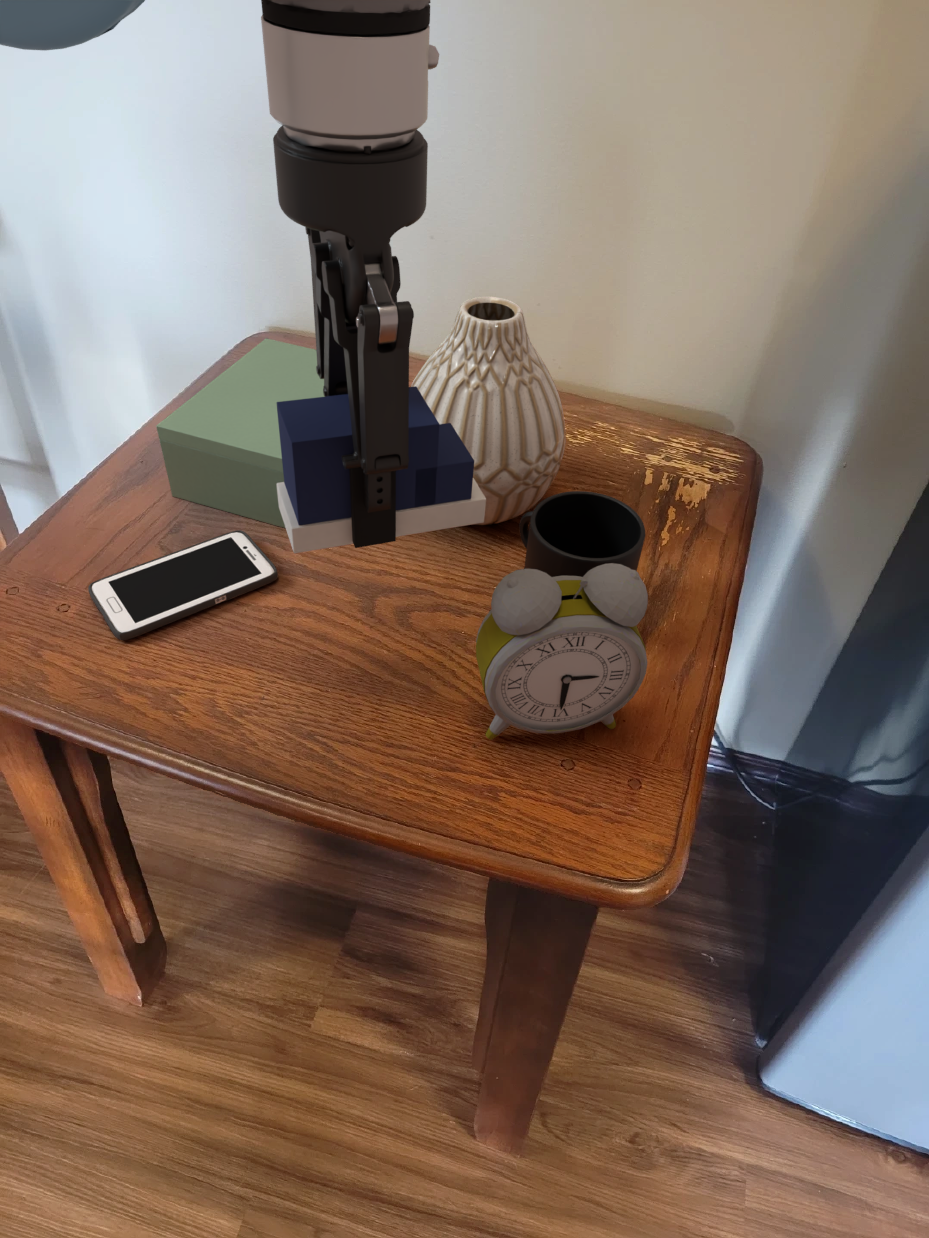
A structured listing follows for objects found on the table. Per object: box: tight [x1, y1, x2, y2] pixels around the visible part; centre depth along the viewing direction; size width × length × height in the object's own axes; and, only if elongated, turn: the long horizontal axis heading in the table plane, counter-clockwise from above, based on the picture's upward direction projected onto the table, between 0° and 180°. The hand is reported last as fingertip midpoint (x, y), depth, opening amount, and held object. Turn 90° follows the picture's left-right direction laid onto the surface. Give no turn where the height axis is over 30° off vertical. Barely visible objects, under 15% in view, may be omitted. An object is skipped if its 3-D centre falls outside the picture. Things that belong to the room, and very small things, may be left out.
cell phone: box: [87, 529, 279, 641], centre depth 74 cm, size 8×15×1 cm, turn 127°
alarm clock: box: [475, 563, 649, 741], centre depth 61 cm, size 12×7×15 cm, turn 99°
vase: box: [410, 295, 567, 526], centre depth 79 cm, size 16×16×20 cm
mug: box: [518, 490, 646, 577], centre depth 73 cm, size 9×12×9 cm
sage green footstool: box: [155, 338, 325, 529], centre depth 87 cm, size 14×20×8 cm
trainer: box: [276, 386, 486, 554], centre depth 55 cm, size 13×5×8 cm, turn 109°
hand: (362, 514), depth 57 cm, fingers closed on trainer, 5 cm apart
